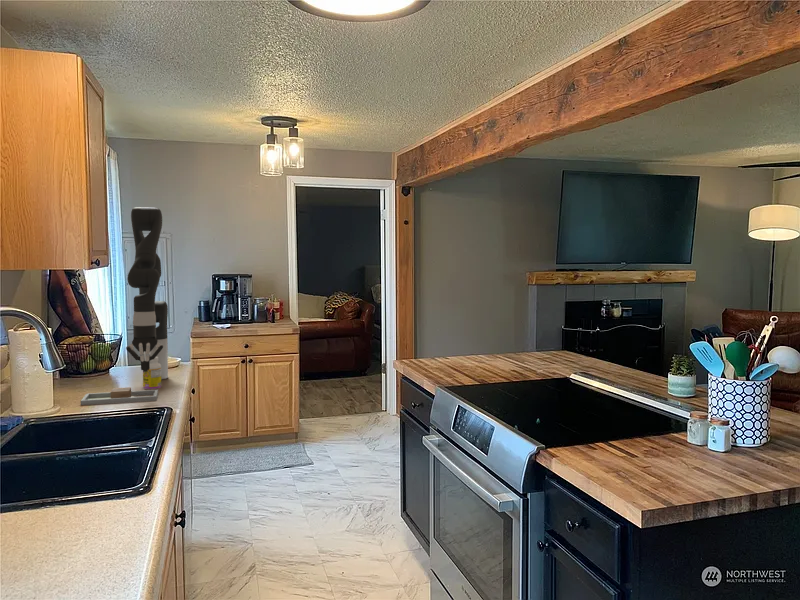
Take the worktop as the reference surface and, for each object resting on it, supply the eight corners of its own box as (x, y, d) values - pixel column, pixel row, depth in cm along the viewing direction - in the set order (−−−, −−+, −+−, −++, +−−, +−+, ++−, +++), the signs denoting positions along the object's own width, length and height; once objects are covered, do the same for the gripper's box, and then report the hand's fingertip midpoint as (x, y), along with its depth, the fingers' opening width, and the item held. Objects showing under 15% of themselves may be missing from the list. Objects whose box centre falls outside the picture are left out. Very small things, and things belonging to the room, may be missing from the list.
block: (113, 397, 212) (112, 388, 211) (131, 396, 214) (131, 387, 213) (110, 401, 206) (110, 391, 206) (129, 400, 208) (129, 390, 208)
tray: (86, 400, 211) (86, 393, 211) (158, 396, 219) (158, 389, 219) (80, 407, 201) (80, 400, 201) (156, 403, 209) (156, 396, 208)
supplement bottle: (140, 389, 230) (140, 356, 229) (158, 386, 234) (157, 355, 234) (146, 392, 225) (145, 359, 224) (163, 389, 229) (163, 357, 228)
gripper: (165, 322, 216) (165, 368, 217) (125, 323, 212) (126, 370, 213) (163, 324, 209) (164, 372, 210) (123, 325, 205) (124, 374, 206)
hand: (145, 371), depth 212 cm, fingers closed
